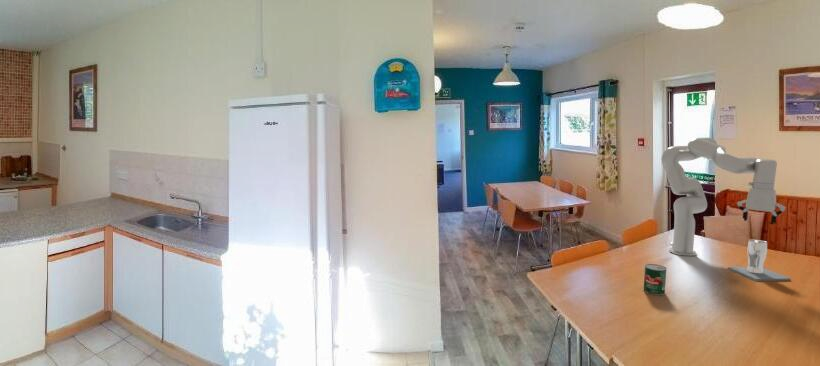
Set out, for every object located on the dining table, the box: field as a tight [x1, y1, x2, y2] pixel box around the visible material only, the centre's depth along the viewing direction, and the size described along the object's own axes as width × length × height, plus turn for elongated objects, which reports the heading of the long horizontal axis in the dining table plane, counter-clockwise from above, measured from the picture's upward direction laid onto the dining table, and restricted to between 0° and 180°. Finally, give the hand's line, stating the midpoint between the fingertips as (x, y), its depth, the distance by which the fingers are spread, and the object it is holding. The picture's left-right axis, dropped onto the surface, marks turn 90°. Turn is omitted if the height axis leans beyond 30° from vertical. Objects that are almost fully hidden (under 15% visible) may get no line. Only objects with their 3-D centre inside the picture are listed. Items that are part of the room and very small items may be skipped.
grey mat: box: [727, 266, 792, 282], centre depth 191 cm, size 16×16×1 cm
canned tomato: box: [643, 263, 667, 296], centre depth 172 cm, size 8×8×11 cm
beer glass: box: [747, 238, 768, 274], centre depth 190 cm, size 7×7×15 cm
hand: (758, 222), depth 189 cm, fingers open, 9 cm apart
